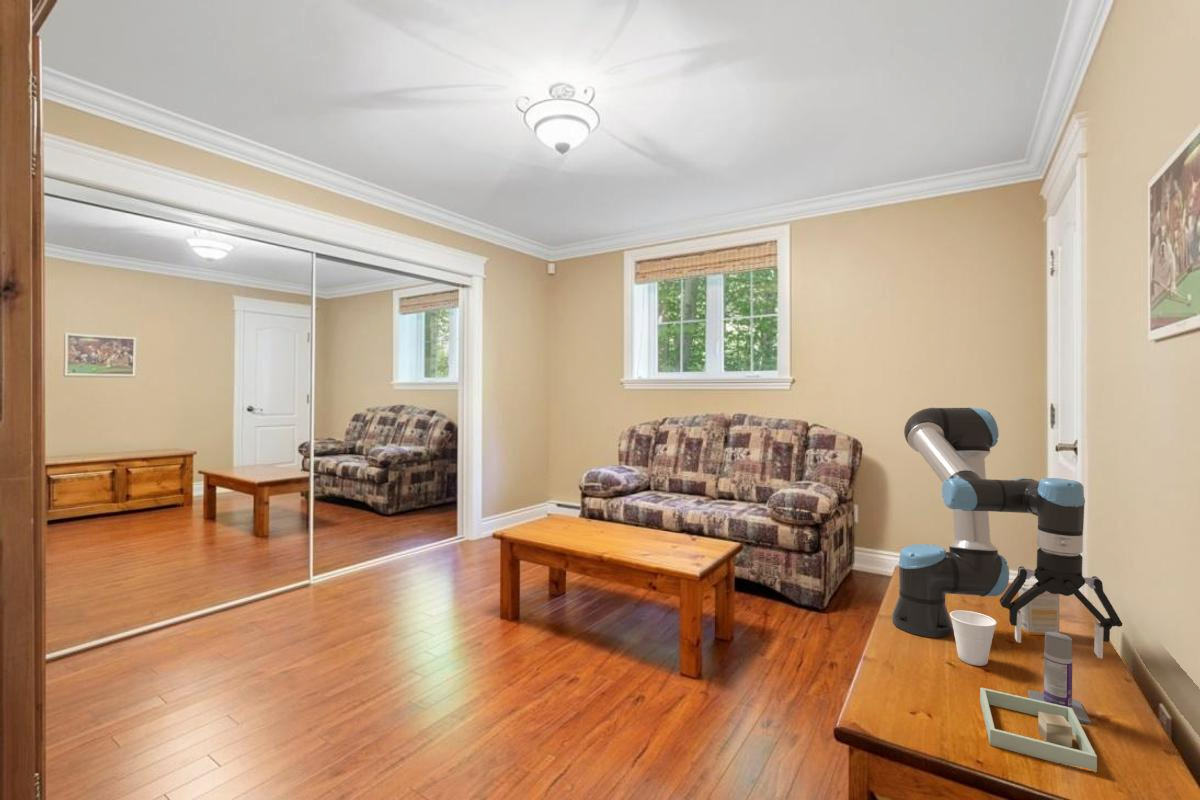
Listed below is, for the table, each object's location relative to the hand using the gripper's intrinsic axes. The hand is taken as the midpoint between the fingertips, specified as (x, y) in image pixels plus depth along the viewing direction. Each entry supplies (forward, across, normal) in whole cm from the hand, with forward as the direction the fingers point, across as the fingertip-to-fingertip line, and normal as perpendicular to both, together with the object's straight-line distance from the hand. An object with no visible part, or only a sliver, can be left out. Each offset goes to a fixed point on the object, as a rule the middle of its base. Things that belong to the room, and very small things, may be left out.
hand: (1056, 647), depth 118 cm
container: (+12, 0, -1) cm, 13 cm away
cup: (+14, -14, +15) cm, 25 cm away
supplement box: (+14, +4, +45) cm, 48 cm away
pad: (+13, 0, -1) cm, 13 cm away
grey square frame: (+13, -6, -15) cm, 20 cm away
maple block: (+13, -3, -15) cm, 20 cm away
